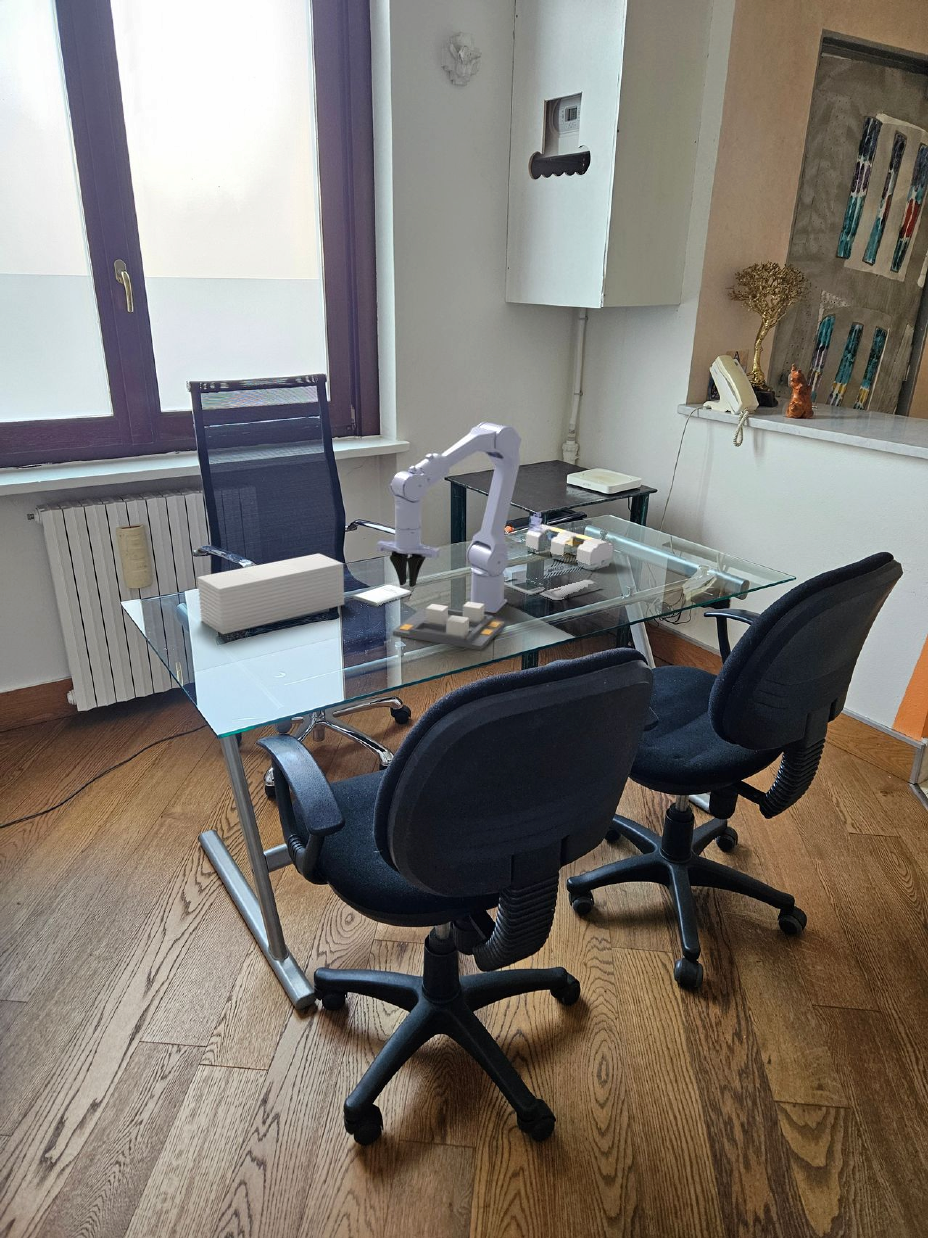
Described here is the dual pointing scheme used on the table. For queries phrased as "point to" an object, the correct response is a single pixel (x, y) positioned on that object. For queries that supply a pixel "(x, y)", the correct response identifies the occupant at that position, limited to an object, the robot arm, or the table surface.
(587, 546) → the diorama
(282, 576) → the stack of papers
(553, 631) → the table surface
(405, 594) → the external hard drive
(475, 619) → the white block
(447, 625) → the white block
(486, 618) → the switch bank
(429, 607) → the white block
